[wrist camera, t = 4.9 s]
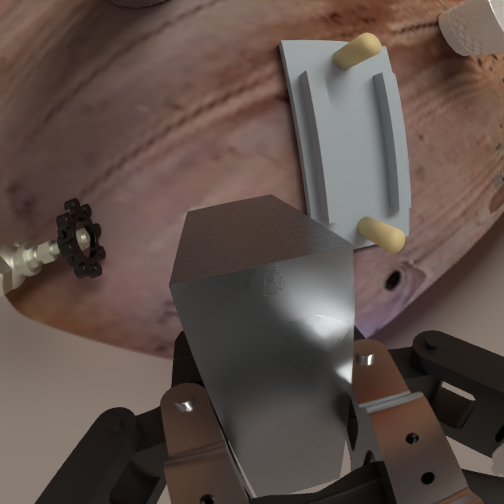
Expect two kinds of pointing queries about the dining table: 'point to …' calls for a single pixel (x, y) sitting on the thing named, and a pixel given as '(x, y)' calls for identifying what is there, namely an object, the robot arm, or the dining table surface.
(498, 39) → the white cup
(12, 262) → the valve
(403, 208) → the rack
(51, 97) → the dining table surface
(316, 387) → the gray rectangular block
